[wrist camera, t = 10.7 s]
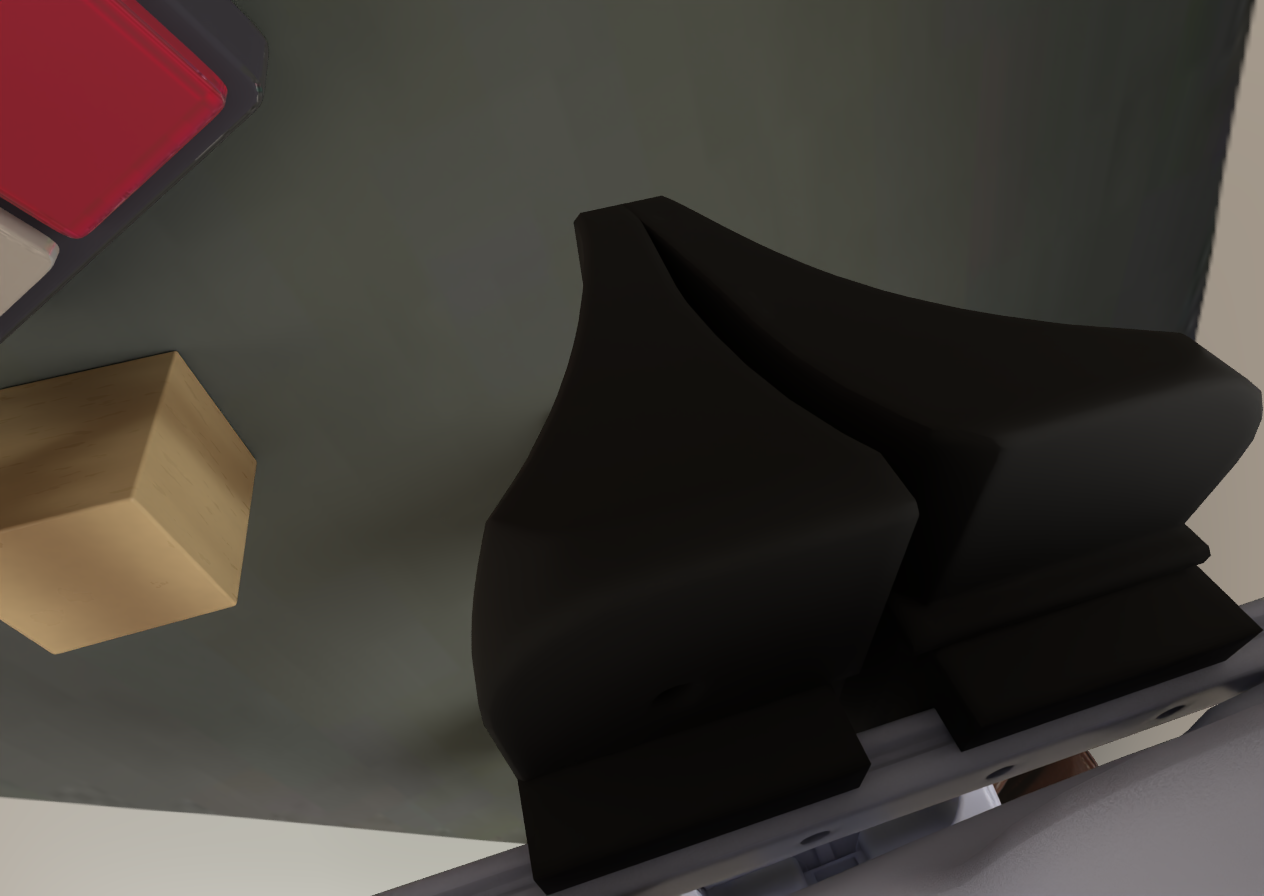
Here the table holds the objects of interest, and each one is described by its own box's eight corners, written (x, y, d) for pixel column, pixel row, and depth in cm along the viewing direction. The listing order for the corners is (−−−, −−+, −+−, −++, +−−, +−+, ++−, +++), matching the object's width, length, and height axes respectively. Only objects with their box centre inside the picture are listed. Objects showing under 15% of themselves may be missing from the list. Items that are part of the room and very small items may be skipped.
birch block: (177, 349, 20) (132, 498, 16) (258, 461, 24) (237, 606, 20) (-6, 389, 19) (-101, 555, 15) (106, 498, 23) (53, 656, 19)
